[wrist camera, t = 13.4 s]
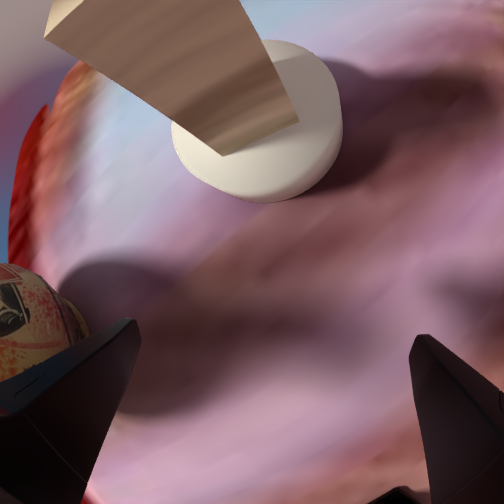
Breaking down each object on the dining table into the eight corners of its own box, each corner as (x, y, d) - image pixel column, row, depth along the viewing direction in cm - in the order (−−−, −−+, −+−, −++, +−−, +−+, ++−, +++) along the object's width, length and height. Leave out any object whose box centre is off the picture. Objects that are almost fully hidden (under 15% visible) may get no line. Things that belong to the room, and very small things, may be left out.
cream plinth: (373, 118, 19) (376, 89, 15) (272, 236, 21) (253, 230, 17) (261, 51, 21) (244, 21, 18) (174, 147, 23) (145, 131, 20)
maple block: (299, 121, 16) (193, -70, 4) (222, 156, 18) (43, 38, 5) (269, 63, 17) (168, -95, 5) (201, 95, 18) (60, -23, 6)
